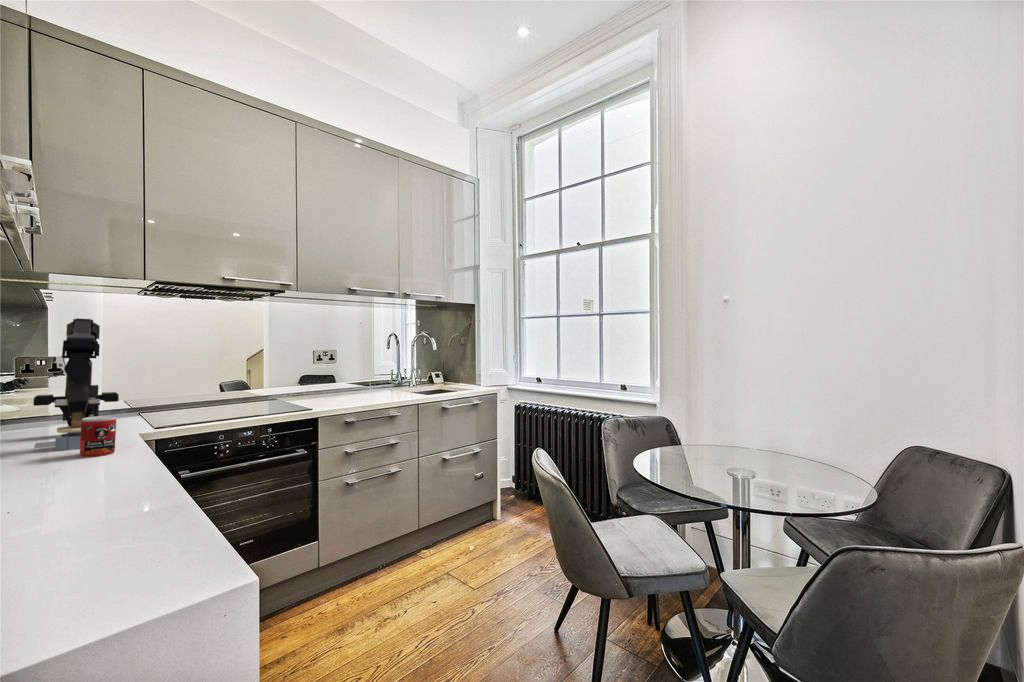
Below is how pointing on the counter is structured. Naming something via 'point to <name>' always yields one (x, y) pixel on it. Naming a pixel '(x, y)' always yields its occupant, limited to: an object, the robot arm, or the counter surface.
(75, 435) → the bowl
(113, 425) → the canned food
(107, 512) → the counter surface
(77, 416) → the lid
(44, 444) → the mat
